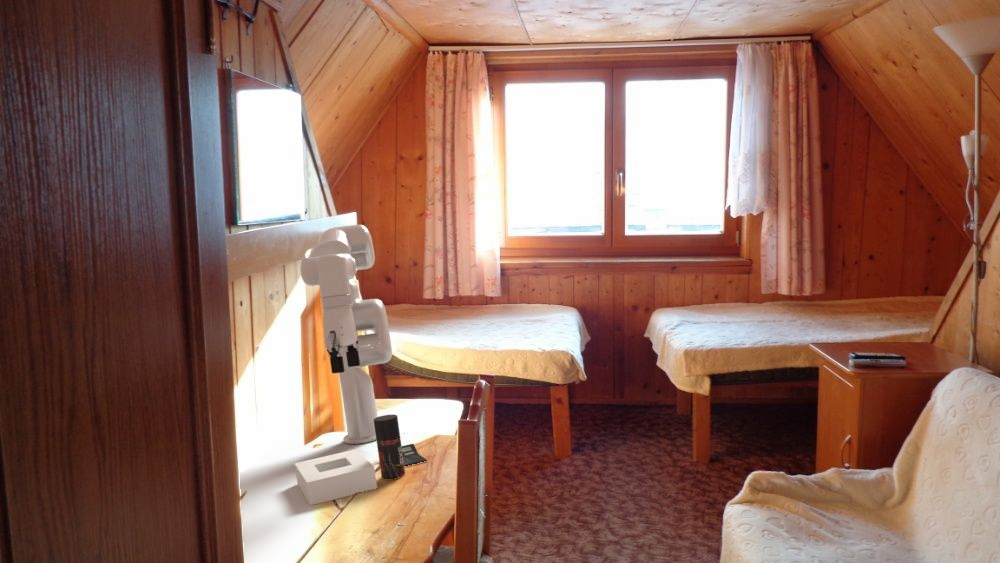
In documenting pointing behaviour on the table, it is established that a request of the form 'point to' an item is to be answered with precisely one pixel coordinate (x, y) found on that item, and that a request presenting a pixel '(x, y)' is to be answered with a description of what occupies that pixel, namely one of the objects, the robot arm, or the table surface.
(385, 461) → the deodorant
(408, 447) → the calculator
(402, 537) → the table surface
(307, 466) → the socket board
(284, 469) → the table surface
